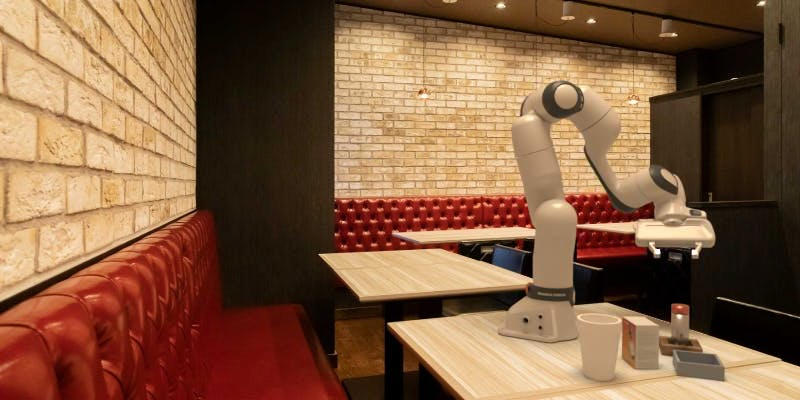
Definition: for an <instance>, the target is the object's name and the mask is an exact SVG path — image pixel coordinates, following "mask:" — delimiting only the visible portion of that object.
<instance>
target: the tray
mask: <svg viewBox="0 0 800 400" xmlns="http://www.w3.org/2000/svg"><path fill="white" fill-rule="evenodd" d="M671 361H672V366H673V368H674V371H675V373H676V376H679V377H685V378H687V377H688V378H694V379H695V378H697V379H702V380H703V379H705V380H711V381H713V380H714V381H722V382H725V372H726V371H725V368H726V367H725V366H724V364H723V362H722V360H721V359H720V358H719V355H718V354H717V353H711V352H710V353H709V352H703V353H700V352H691V351H681V350H673V356H672V360H671Z"/></svg>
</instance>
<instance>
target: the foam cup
mask: <svg viewBox="0 0 800 400" xmlns="http://www.w3.org/2000/svg"><path fill="white" fill-rule="evenodd" d="M576 327H577V331H578V334H579V336H578V338H579V345H580V354H581V361H582V368H583V375H585V376H584V377H586V378H587V377H588V378H587V379H589V378H590V380H592V379H593V381H598V382H608V381H609V382H610V381H612V380H613V379H614V378H615V374H616V365H617V359H618V355H619V354H618V352H619V347H620V346H619V345H620V339H621V335H622V318H619V317H617V316H614V315H611V314H610V315H609V314H605V313H604V314H603V313H582V314H581V313H580V314H578V315H577V316H576Z"/></svg>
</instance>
